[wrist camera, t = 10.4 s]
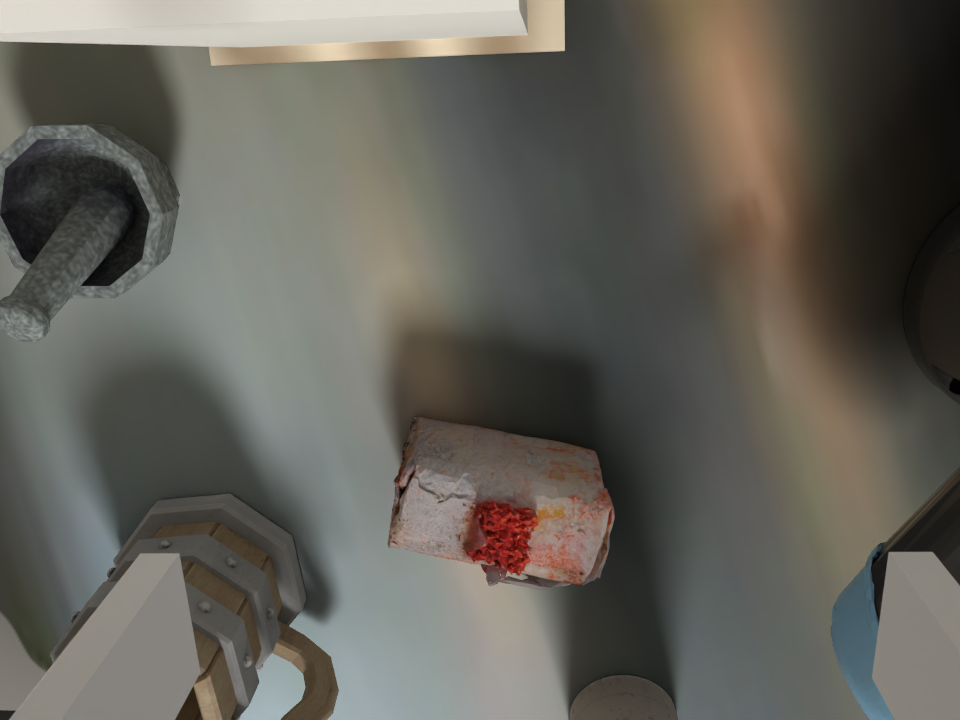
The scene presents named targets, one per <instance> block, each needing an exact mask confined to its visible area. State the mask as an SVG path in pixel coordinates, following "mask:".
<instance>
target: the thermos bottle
mask: <svg viewBox="0 0 960 720" xmlns="http://www.w3.org/2000/svg"><path fill="white" fill-rule="evenodd" d="M569 720H678V717H677V713H676V709H675V706H674V704H673V701H672V699H671V698H670V697H669V695H668V694H667V693H666V692H665V691H664V690H663V689H662V688H661V687H659V686H658V685H657V684H655V683H653V682H651V681H649V680H647V679H644V678H641V677H638V676H631V675H614V676H608V677H605V678H602V679H599V680H596V681H595V682H593V683H591V684H589V685H588V686H586V687H585V688H584V689H583V690H582V691H581V692H580V693H579V694H578V695H577V697H576V698H575V700H574V702H573V704H572V706H571V709H570V713H569Z"/></svg>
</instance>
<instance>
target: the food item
mask: <svg viewBox="0 0 960 720" xmlns="http://www.w3.org/2000/svg"><path fill="white" fill-rule="evenodd" d="M405 444H407V446H406V449H404V447H403V458H402V459H403V462H402V464H401V467H400V469H399V473H398V476H397V477H396V478H395V480H394V483H395V485H396V487H395V499H394V505H393V508H392V516H391V523H390V531H389V540H388V546H389V548H404V549H406V550H410V551H414V552H418V553H423V554H428V555H432V556H437V557H441V558H446V559H453V560H457V561H462V562H466V563H471V564H478V565H481V566H482V569H483V570H484V572H485V573H486V574H487V576H486V580H487V582H488V584H489V586H492V585H495V584H497V583H498V582H502V583H508V584H514V585H518V586H523V587H530V588H536V589H545V588H552V587H557V586H567V585H571V584H573V583H574V584H576V585H579V584H581V585H582V586H583V585H585V584H587V583H589V582H591V581H594V580H595V578H600V576H601V572H602V569H603V566H604V564H605V561H606V558H607V555H608V551H609V548H610V532H611V529H612V526H613V523H614V519H615V514H614V507H613V503H612V501H611V498H610V496H609V494H608V491H607V488H604V485H603V481H602V474H601V468H600V465H599V460H598V457H597V454H596V451H594V450H592V449H587V448H583V447H579V446H575V445H571V444H567V443H563V442H559V441H554V440H547V439H541V438H536V437H526V436H522V435H517V434H512V433H506V432H503V431H499V430H493V429H488V428H483V427H478V426H471V425H463V424H457V423H452V422H446V421H440V420H434V419H429V418H424V417H421V418H418V417H413V418H412V424H411V428H410V431H409V432H408V439H407V441H406V442H405V443H404V446H405ZM396 482H397V483H396ZM507 571H509V572H510V573H511V575H512V573H517V575H520V574H521V575H523V576H525V577H527V578H528V579H524V580H519V579H516V578H513V577H510V576H508V577H506V573H507ZM500 574H501V576H500ZM502 577H503V578H502ZM505 577H506V578H505ZM500 579H503V580H500ZM489 582H491V583H489Z"/></svg>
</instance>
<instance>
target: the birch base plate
mask: <svg viewBox="0 0 960 720" xmlns="http://www.w3.org/2000/svg"><path fill="white" fill-rule="evenodd" d="M526 5H527V11H528V35H516V36H493V37H470V38H447V39H424V40H401V41H379V42H356V43H333V44H310V45H287V46H264V47H209V52H210V60H211V66H218V65H242V64H265V63H289V62H313V61H336V60H360V59H384V58H407V57H431V56H455V55H478V54H502V53H526V52H549V51H565V18H564V0H526Z"/></svg>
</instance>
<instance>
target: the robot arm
mask: <svg viewBox="0 0 960 720" xmlns="http://www.w3.org/2000/svg"><path fill="white" fill-rule="evenodd" d="M903 320H904V329H905V334H906V338H907V342H908V345H909V348H910V351H911V353H912V355H913V357H914V359H915V361H916V363H917V364H918V366H919V367H920V369H921V370H922V372H923V373H924V374H925V375H926V376H927V378H928V379H929V380H930V381H931V382H932V383H933V384H935V385H936V386H937V387H938V388H939V389H940V390H942V391H943V392H944V393H945V394H947V395H948V396H949V397H950V398H951V399H953V400H954V401H955V402H957V403H958V404H960V205H959V206H958V207H957V208H956V209H955V210H953V211H952V212H951V213H950V214H949V215H948V216H947V217H946V218H945V219H944V220H943V221H942V222H941V223H940V224H939V225H938V227H937V228H936V229H935V230H934V231H933V233H932V234H931V235H930V237H929V238H928V240H927V241H926V243H925V244H924V246H923V247H922V249H921V251H920V252H919V254H918V256H917V258H916V260H915V262H914V265H913V267H912V270H911V272H910V275H909V278H908V282H907V286H906V290H905V296H904V305H903ZM831 638H832V642H833V647H834V651H835V654H836V657H837V660H838V663H839V666H840V668H841V670H842V673H843V675H844V677H845V679H846V681H847V683H848V685H849V687H850V689H851V691H852V693H853V694H854V696H855V698H856V699H857V701H858V703H859V704H860V706H861V708H862V709H863V711H864V712H865V714H866V715H867V717H868V718H869V720H960V467H959V468H958V469H957V470H956V471H955V472H954V473H953V474H952V475H951V476H950V477H949V478H948V479H947V480H946V481H945V482H944V483H943V484H942V485H941V486H940V487H939V488H938V489H937V490H936V492H935V493H934V494H933V495H932V496H931V497H930V498H929V499H928V500H927V501H926V502H925V503H924V504H923V505H922V506H921V507H920V508H919V509H918V510H917V511H916V512H915V513H914V514H913V515H912V516H911V517H910V518H909V519H908V520H907V521H906V522H905V523H904V524H903V525H902V526H901V527H900V528H899V529H898V530H897V531H896V532H895V533H894V534H893V535H892V536H891V537H890V538H889V540H888V541H887V542H884V543H880V544H879V545H878V546H877V547H876V548H875V549H874V550H872V552H871V554H870V555H869V557H868V559H867V562H866V565H865V566H864V568H863V569H862V570H861V571H860V572H859V573H858V575H857V576H856V577H855V578H854V579H853V580H852V581H851V582H850V584H849V585H848V586H847V587H846V588H845V589H844V590H843V591H842V593H841V594H840V595H839V597H838V598H837V600H836V602H835V604H834V607H833V610H832V626H831ZM200 673H201V672H200V667H199V661H198V655H197V650H196V644H195V638H194V633H193V627H192V622H191V616H190V610H189V605H188V599H187V593H186V588H185V582H184V577H183V571H182V565H181V560H180V554H179V553H140V555H139V556H138V557H137V558H136V560H135V561H134V562H133V563H132V565H131V566H130V567H129V569H128V570H127V571H126V572H125V574H124V575H123V576H122V577H121V579H120V580H119V581H118V582H117V584H116V585H115V586H114V588H113V589H112V590H111V591H110V593H109V594H108V595H107V596H106V598H105V599H104V600H103V601H102V603H101V604H100V605H99V606H98V608H97V609H96V610H95V612H94V613H93V614H92V615H91V617H90V618H89V619H88V620H87V622H86V623H85V624H84V625H83V627H82V628H81V629H80V630H79V632H78V633H77V634H76V636H75V637H74V638H73V639H72V641H71V642H70V643H69V644H68V646H67V647H66V648H65V649H64V651H63V652H62V653H61V655H60V656H59V657H58V658H57V660H56V661H55V662H54V663H53V665H52V666H51V667H50V668H49V670H48V671H47V672H46V673H45V675H44V676H43V677H42V679H41V680H40V681H39V682H38V684H37V685H36V686H35V688H34V689H33V690H32V691H31V692H30V694H29V695H28V696H27V698H26V699H25V700H24V701H23V703H22V704H21V705H20V706H19V708H18V709H17V710H16V711H1V710H0V720H175V719H176V717H177V715H178V713H179V711H180V710H181V708H182V706H183V704H184V702H185V700H186V698H187V697H188V695H189V693H190V691H191V689H192V687H193V686H194V684H195V682H196V680H197V678H198V676H199V674H200Z"/></svg>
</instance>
